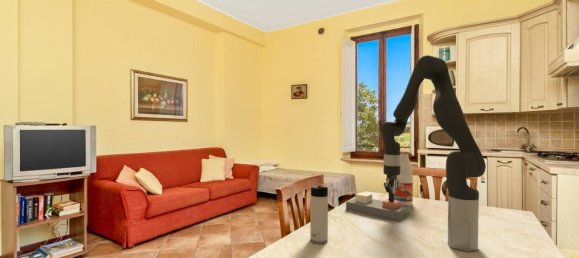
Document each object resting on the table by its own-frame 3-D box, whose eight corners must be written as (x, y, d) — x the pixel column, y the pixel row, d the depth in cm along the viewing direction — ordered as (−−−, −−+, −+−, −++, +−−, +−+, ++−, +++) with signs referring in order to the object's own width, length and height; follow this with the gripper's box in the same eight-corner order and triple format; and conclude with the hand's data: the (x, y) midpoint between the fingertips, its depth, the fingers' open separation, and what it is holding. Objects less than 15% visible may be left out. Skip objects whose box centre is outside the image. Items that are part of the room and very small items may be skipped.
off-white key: (366, 204, 145) (366, 196, 145) (355, 202, 149) (355, 194, 149) (372, 202, 150) (372, 194, 150) (361, 200, 154) (361, 192, 154)
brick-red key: (395, 212, 136) (395, 203, 136) (382, 209, 140) (382, 201, 140) (400, 209, 141) (400, 201, 141) (387, 207, 145) (387, 198, 144)
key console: (398, 221, 131) (398, 212, 131) (346, 209, 148) (346, 201, 148) (409, 214, 142) (409, 205, 142) (359, 204, 159) (359, 196, 159)
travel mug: (314, 245, 105) (314, 188, 104) (307, 238, 111) (308, 184, 111) (330, 243, 106) (331, 187, 106) (323, 236, 113) (324, 183, 112)
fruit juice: (415, 203, 160) (416, 151, 160) (408, 207, 153) (409, 152, 152) (397, 200, 166) (398, 150, 166) (390, 204, 159) (391, 151, 159)
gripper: (394, 166, 132) (393, 205, 133) (405, 163, 142) (404, 199, 143) (378, 164, 137) (377, 202, 138) (389, 162, 147) (389, 197, 148)
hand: (391, 201), depth 140 cm, fingers closed
